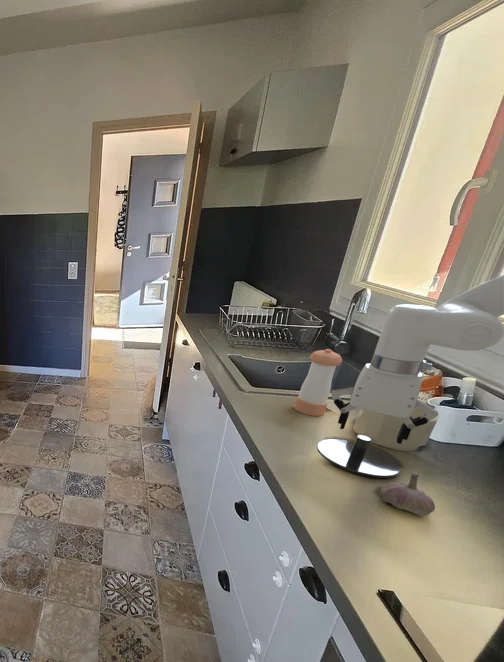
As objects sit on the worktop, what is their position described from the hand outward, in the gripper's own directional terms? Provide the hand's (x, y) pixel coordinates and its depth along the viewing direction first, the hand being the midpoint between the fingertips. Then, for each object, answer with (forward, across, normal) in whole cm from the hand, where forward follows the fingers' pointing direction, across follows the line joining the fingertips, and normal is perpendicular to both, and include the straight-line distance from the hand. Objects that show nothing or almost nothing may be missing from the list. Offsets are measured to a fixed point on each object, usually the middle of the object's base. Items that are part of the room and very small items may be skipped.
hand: (369, 433), depth 88 cm
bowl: (+8, -4, -19) cm, 21 cm away
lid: (+7, +1, 0) cm, 7 cm away
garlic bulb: (+8, -7, +14) cm, 18 cm away
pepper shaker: (+7, +13, -23) cm, 27 cm away
